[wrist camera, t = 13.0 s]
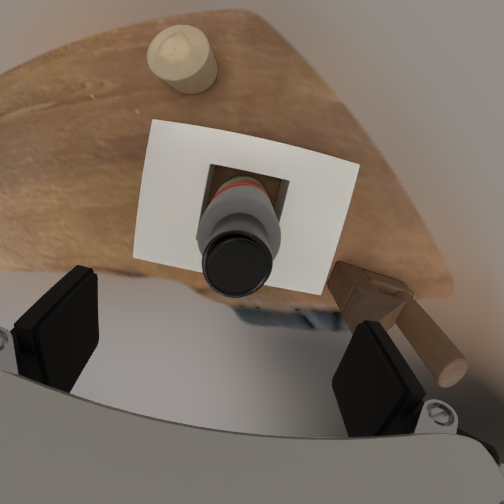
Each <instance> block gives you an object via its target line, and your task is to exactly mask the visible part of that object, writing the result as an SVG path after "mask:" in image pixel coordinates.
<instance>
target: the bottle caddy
mask: <svg viewBox="0 0 504 504" xmlns="http://www.w3.org/2000/svg"><path fill="white" fill-rule="evenodd" d="M215 165H220V166H225V167H230V168H235V169H240V170H245V171H249V172H254V173H259V174H263V175H268V176H272V177H276V178H281V183H280V188H279V192H278V196H277V200H276V204H275V208H274V212H275V214H276V217H277V220H278V222H279V226H280V230H281V244H280V248H279V251H278V254H277V256H276V257H275V259H274V260H273V267H272V271H271V274H270V276H269V278H268V280H267V281H266V282H265V284H264V285H268V286H273V287H278V288H284V289H289V290H295V291H300V292H305V293H311V294H317V295H321V293H322V290H323V287H324V284H325V281H326V279H327V275H328V272H329V269H330V266H331V263H332V260H333V257H334V254H335V251H336V248H337V244H338V241H339V238H340V234H341V231H342V228H343V224H344V221H345V218H346V214H347V211H348V207H349V204H350V200H351V197H352V193H353V189H354V186H355V182H356V178H357V174H358V170H359V167H360V165H359V164H356V163H352V162H349V161H346V160H343V159H339V158H336V157H332V156H329V155H325V154H322V153H318V152H315V151H311V150H307V149H303V148H300V147H296V146H292V145H288V144H284V143H280V142H275V141H271V140H267V139H262V138H258V137H253V136H249V135H244V134H239V133H234V132H229V131H224V130H219V129H213V128H207V127H202V126H196V125H189V124H183V123H176V122H169V121H162V120H154V119H153V120H152V125H151V130H150V135H149V140H148V145H147V151H146V157H145V163H144V169H143V175H142V182H141V189H140V196H139V203H138V211H137V220H136V229H135V239H134V250H133V258H137V259H141V260H146V261H150V262H155V263H160V264H164V265H169V266H173V267H178V268H183V269H188V270H192V271H197V272H202V273H203V271H202V255H201V253H200V250H199V247H198V242H197V231H198V226H199V223H200V221H201V218H202V216H203V215H204V213H205V211H206V209H207V204H208V199H209V194H210V189H211V184H212V179H213V174H214V169H215Z"/></svg>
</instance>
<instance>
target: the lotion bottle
mask: <svg viewBox="0 0 504 504" xmlns="http://www.w3.org/2000/svg"><path fill="white" fill-rule="evenodd" d="M197 242H198V247H199V250H200V253H201V255H202V271H203V274H204V277H205V279H206V281H207V283H208V284H209V285H210V287H211V288H212V289H213V290H215V291H216V292H217V293H219V294H221V295H223V296H226V297H231V298H239V297H244V296H247V295H250V294H252V293H254V292H255V291H257V290H258V289H260V288H261V287H262V286H263V285H264V284H265V282H266V281H267V280H268V278H269V276H270V274H271V271H272V267H273V260H274V259H275V257H276V256H277V254H278V251H279V248H280V244H281V230H280V226H279V222H278V220H277V217H276V214H275V212H274V209H273V207H272V204H271V202H270V199H269V197H268V195H267V192H266V190H265V188H264V187H263V185H262V184H261V183H260V182H259V181H258V180H256V179H255V178H253V177H250V176H247V175H238V176H234V177H231V178H229V179H228V180H226V181H225V182H224V183H223V184H222V185H221V186H220V188H219V189H218V191H217V193H216V194H215V196H214V198H213V199H212V201H211V203H210V204H209V206H208V208H207V209H206V211H205V213H204V215H203V216H202V218H201V221H200V223H199V226H198V231H197Z"/></svg>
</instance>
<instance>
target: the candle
mask: <svg viewBox="0 0 504 504" xmlns="http://www.w3.org/2000/svg"><path fill="white" fill-rule="evenodd" d="M147 62H148V65H149V68H150V69H151V71H152V72H153V73H154V74H155V75H156V76H158V77H159V78H161V79H162V80H164V81H165V82H166V83H168V84H169V85H170V86H172V87H173V88H175V89H176V90H178V91H179V92H181V93H184V94H198V93H201V92H203V91H205V90H207V89H208V88H209V87H210V86H211V85H212V84H213V83H214V81H215V79H216V77H217V73H218V67H217V63H216V60H215V57H214V55H213V52H212V50H211V47H210V44H209V42H208V40H207V37H206V36H205V34H204V33H203V32H202V31H200V30H199V29H197V28H195V27H193V26H190V25H176V26H172V27H169V28H167V29H165V30H163V31H161V32H160V33H159V34H158V35H157V36H156V37H155V38H154V39H153V40H152V42H151V43H150V45H149V48H148V51H147Z"/></svg>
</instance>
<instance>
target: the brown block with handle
mask: <svg viewBox="0 0 504 504" xmlns="http://www.w3.org/2000/svg"><path fill="white" fill-rule="evenodd" d="M328 288H329V290H330V292H331V293H332V295H333V297H334V299H335V301H336V303H337V305H338V307H339V309H340V311H341V312H342V315H343V317H344V319H345V321H346V323H347V325H348V327H349V329H350V331H351V333H352V335H353V334H354V331H355V329H356V327H357V325H358V324H359V323H362V322H363V321H364V320H370V321H377V322H380V323H381V325H382V326H383V328H384V329H385V331H386V332H387V331H388V330H389V329H390V328H391V327H392V326H393V325H394V323H396V325H397V326H398V327H399V329H400V330H401V332H402V333H403V334H404V336H405V337H406V338H407V340H408V341H409V343H410V344H411V345H412V347H413V348H414V350H415V351H416V353H417V354H418V355H419V357H420V358H421V360H422V361H423V363H424V364H425V366H426V367H427V369H428V370H429V372H430V373H431V374H432V376H433V377H434V379H435V380H436V382H437V383H438V384H439V386H441V387H449V386H452V385H453V384H455V383H456V382H457V381H459V380H460V379H461V378H462V377H463V376H464V374H465V372H466V371H467V368H468V361H467V359H466V358H465V356H464V355H463V354H462V353H461V352H460V351H459V349H458V348H457V347H456V346H455V345H454V344H453V342H452V341H451V340H450V339H449V338H448V337H447V335H446V334H445V333H444V332H443V331H442V330H441V329H440V327H439V326H438V325H437V324H436V323H435V322H434V321H433V320H432V319H431V317H429V315H428V314H427V313H426V312H425V311H424V310H423V309H422V308H421V307H420V305H419V304H418V303H417V302H416V301H415V300H414V299H413V298H412V297H413V295H414V293H413V292H412V291H411V290H410V289H409V288H408V287H407V286H406V284H405V283H404V282H401V281H398V280H395V279H392V278H389V277H386V276H383V275H380V274H377V273H374V272H371V271H367V270H364V269H362V270H361V269H360V268H358V267H355V266H352V265H349V264H346V263H343V262H337V263H336V266H335V268H334V270H333V273H332V275H331V277H330V279H329V282H328Z"/></svg>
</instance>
